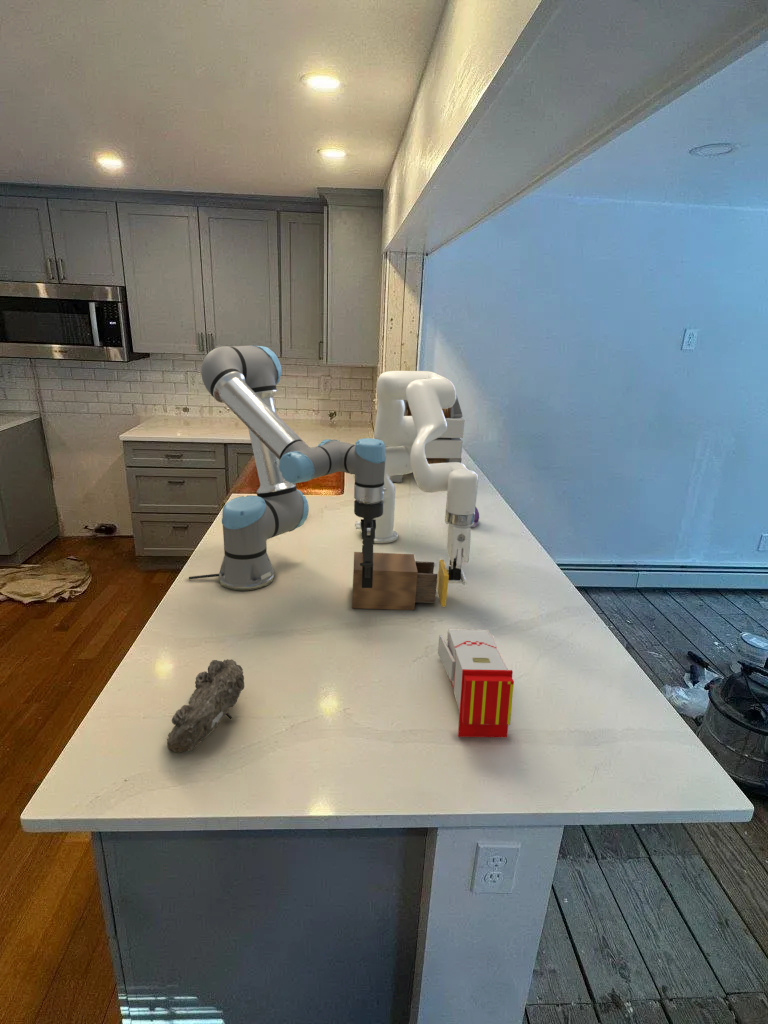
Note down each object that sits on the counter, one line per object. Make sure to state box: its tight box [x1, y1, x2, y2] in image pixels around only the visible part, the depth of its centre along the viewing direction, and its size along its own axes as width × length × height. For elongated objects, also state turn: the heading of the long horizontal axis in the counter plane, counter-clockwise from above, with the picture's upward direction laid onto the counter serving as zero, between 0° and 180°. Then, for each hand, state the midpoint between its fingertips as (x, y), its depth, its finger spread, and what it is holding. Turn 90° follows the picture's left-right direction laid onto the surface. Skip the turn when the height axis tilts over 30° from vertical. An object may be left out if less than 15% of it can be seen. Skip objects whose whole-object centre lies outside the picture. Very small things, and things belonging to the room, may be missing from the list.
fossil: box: [166, 658, 245, 754], centre depth 106 cm, size 22×10×15 cm
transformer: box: [385, 394, 465, 483], centre depth 268 cm, size 34×33×41 cm
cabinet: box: [351, 551, 418, 611], centre depth 153 cm, size 16×11×11 cm
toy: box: [437, 628, 515, 738], centre depth 117 cm, size 12×13×30 cm
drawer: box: [415, 559, 468, 608], centre depth 153 cm, size 20×10×9 cm, turn 92°
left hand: (366, 576), depth 152 cm, fingers closed on cabinet, 11 cm apart
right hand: (453, 580), depth 153 cm, fingers closed
